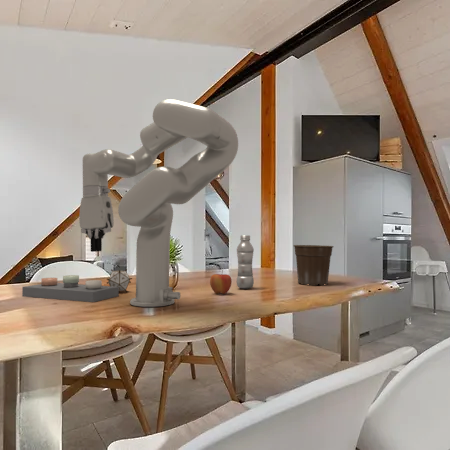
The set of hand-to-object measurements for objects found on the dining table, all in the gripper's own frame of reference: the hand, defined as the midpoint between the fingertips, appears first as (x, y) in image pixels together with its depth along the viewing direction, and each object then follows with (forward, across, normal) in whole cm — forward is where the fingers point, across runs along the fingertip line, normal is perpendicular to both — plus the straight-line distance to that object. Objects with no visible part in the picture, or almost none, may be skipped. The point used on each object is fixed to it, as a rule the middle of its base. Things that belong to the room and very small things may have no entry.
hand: (96, 251), depth 116 cm
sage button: (+12, +10, 0) cm, 16 cm away
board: (+14, +10, 0) cm, 18 cm away
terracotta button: (+13, +19, 0) cm, 23 cm away
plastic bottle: (+16, -37, -38) cm, 55 cm away
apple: (+16, -33, -23) cm, 43 cm away
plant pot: (+17, -59, -63) cm, 88 cm away
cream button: (+14, +1, 0) cm, 14 cm away
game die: (+15, +1, -13) cm, 20 cm away
